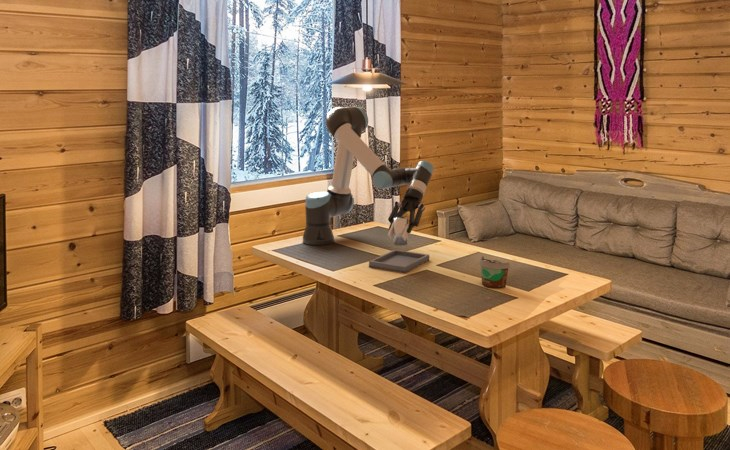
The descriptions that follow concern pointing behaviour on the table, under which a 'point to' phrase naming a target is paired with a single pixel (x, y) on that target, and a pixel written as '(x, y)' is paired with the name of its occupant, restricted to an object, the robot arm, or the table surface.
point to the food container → (494, 273)
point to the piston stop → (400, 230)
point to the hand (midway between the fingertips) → (396, 237)
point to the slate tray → (399, 261)
